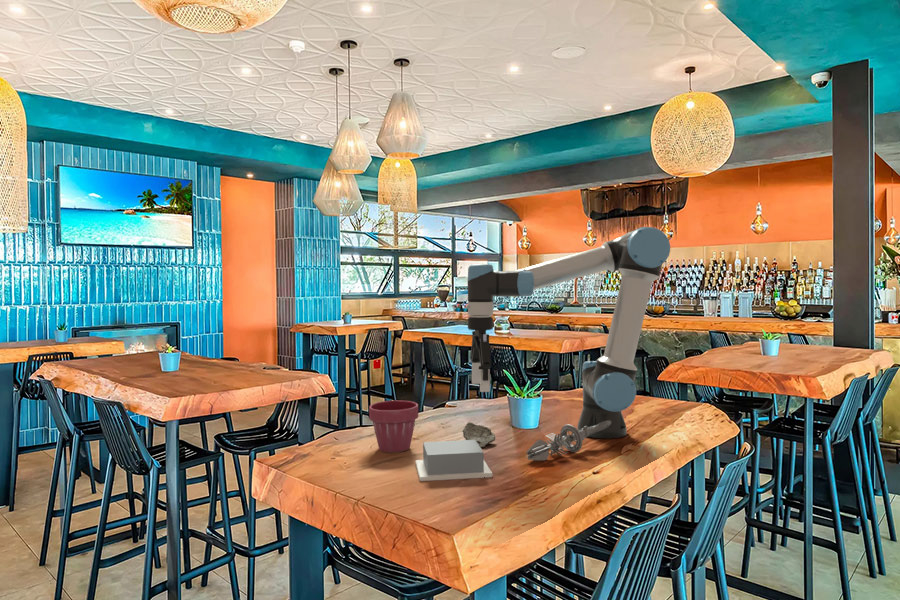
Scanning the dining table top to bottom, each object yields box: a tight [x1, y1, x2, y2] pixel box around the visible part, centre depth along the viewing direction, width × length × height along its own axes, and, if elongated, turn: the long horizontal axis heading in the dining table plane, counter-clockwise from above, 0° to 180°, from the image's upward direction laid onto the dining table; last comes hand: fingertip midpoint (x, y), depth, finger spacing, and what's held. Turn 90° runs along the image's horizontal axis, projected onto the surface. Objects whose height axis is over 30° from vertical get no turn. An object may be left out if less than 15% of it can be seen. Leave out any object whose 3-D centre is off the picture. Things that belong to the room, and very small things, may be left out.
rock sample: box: [462, 421, 496, 449], centre depth 174 cm, size 11×8×9 cm
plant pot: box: [368, 399, 419, 453], centre depth 172 cm, size 14×14×13 cm
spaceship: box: [525, 420, 611, 461], centre depth 166 cm, size 8×35×8 cm
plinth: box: [415, 439, 494, 482], centre depth 151 cm, size 18×14×6 cm
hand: (480, 387), depth 175 cm, fingers open, 13 cm apart
